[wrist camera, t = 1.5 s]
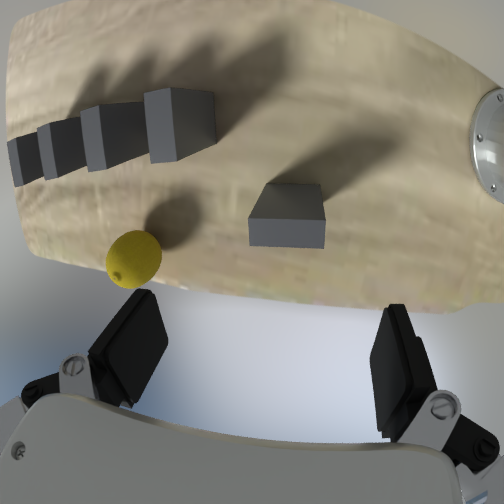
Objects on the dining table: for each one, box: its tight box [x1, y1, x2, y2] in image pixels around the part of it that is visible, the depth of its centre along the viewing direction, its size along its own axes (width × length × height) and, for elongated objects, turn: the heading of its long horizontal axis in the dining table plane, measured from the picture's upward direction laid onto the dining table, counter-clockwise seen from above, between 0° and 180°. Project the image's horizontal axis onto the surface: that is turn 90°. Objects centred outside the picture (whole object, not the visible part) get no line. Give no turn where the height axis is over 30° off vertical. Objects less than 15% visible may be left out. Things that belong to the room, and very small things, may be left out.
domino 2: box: [37, 117, 87, 180], centre depth 23 cm, size 2×5×9 cm, turn 3°
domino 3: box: [80, 102, 149, 172], centre depth 22 cm, size 2×5×9 cm, turn 3°
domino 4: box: [144, 88, 217, 164], centre depth 21 cm, size 2×5×9 cm, turn 3°
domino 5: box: [248, 184, 326, 249], centre depth 23 cm, size 2×5×9 cm, turn 94°
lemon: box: [106, 230, 162, 289], centre depth 28 cm, size 6×6×8 cm
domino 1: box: [7, 132, 44, 187], centre depth 24 cm, size 2×5×9 cm, turn 3°
